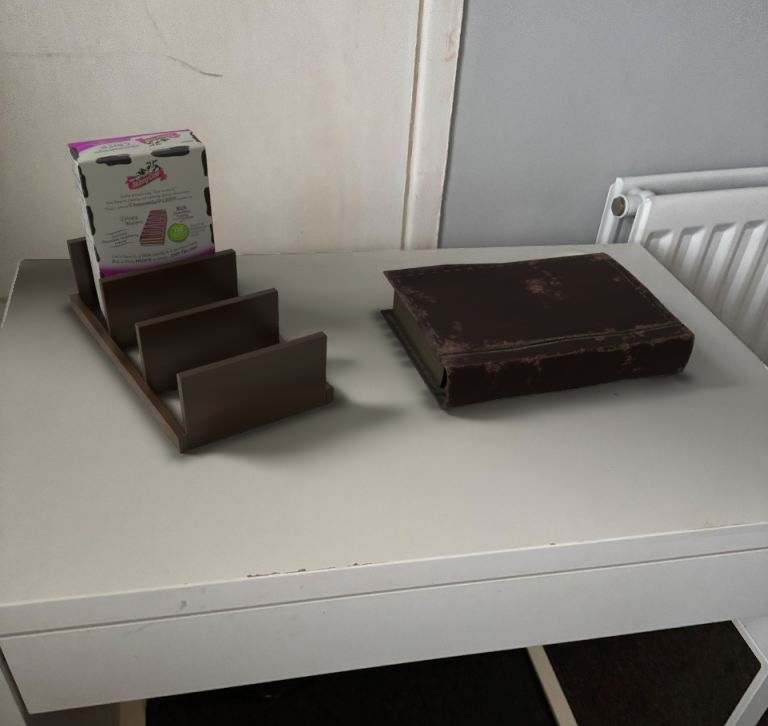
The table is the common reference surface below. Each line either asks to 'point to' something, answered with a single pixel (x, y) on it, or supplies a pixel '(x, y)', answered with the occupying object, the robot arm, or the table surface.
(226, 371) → the rack
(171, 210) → the candy bar box
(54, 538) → the table surface
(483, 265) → the diary
